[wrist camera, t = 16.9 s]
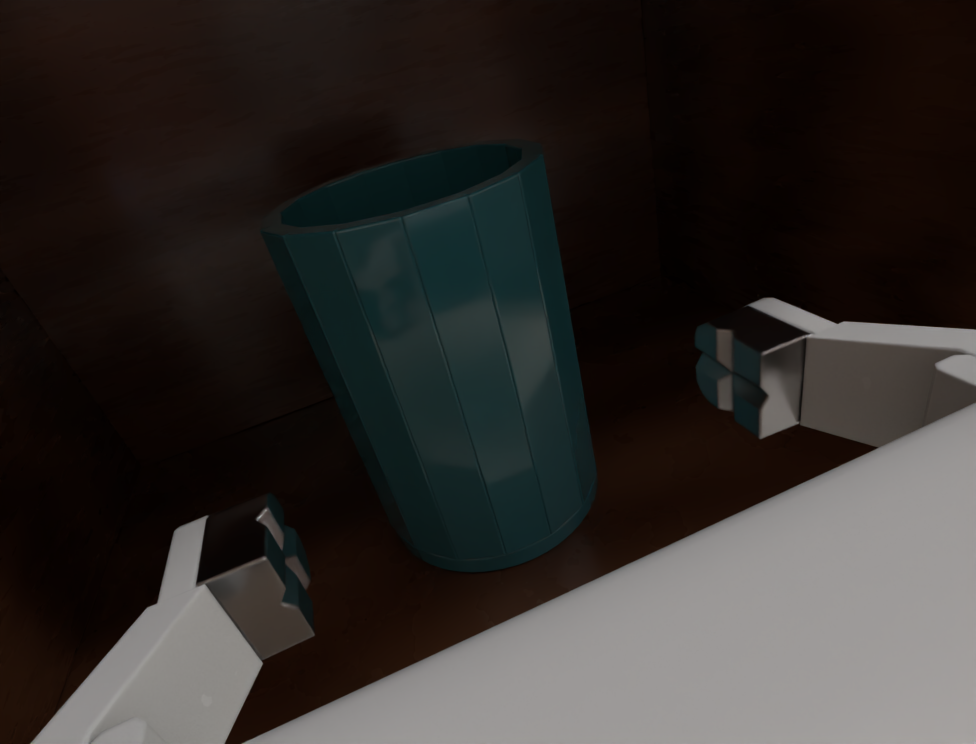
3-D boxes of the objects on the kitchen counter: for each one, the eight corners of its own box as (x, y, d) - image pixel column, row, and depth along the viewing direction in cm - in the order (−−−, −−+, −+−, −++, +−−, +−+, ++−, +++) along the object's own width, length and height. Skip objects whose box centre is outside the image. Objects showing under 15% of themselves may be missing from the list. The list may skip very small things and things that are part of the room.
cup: (640, 512, 16) (597, 154, 11) (417, 612, 15) (255, 263, 10) (545, 400, 22) (487, 131, 17) (378, 466, 21) (262, 198, 16)
